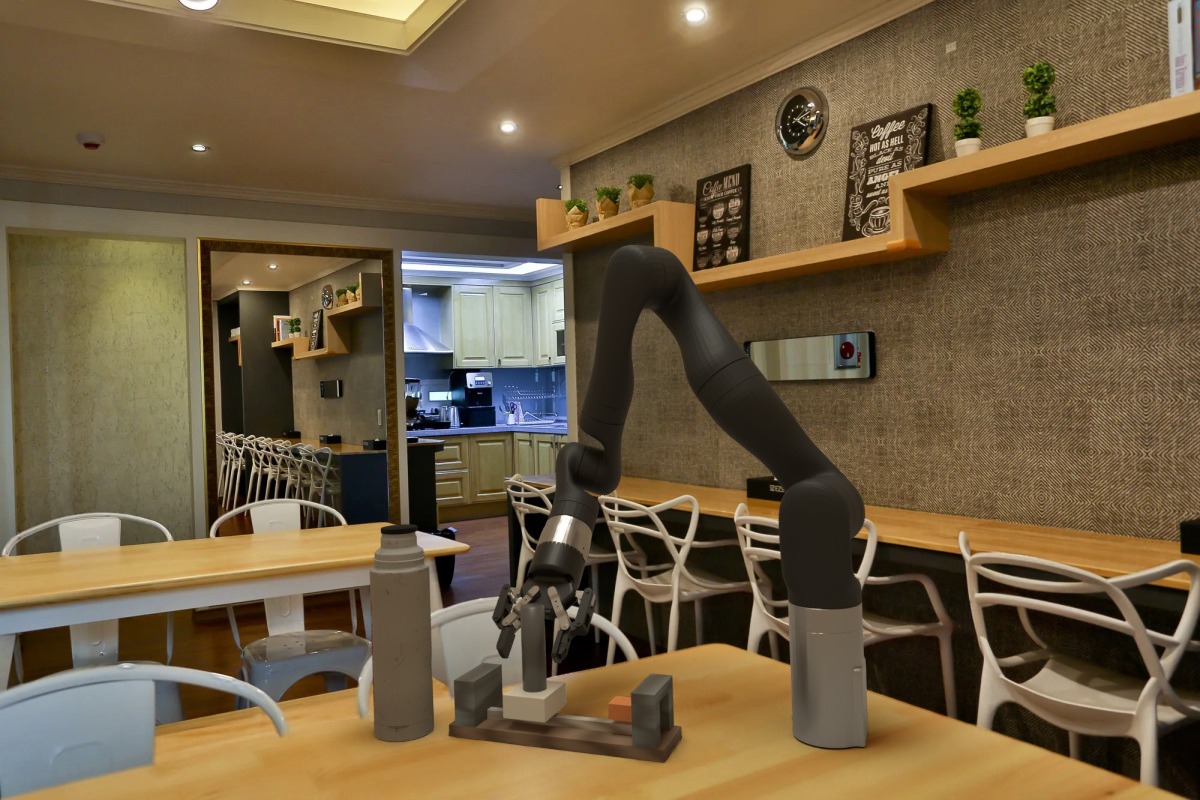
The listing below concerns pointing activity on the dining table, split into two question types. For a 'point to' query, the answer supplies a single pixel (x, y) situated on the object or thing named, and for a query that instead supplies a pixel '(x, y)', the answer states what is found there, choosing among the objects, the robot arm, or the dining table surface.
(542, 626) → the carriage
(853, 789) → the dining table surface
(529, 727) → the rail board
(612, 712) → the reset pin
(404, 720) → the thermos bottle
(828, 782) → the dining table surface
